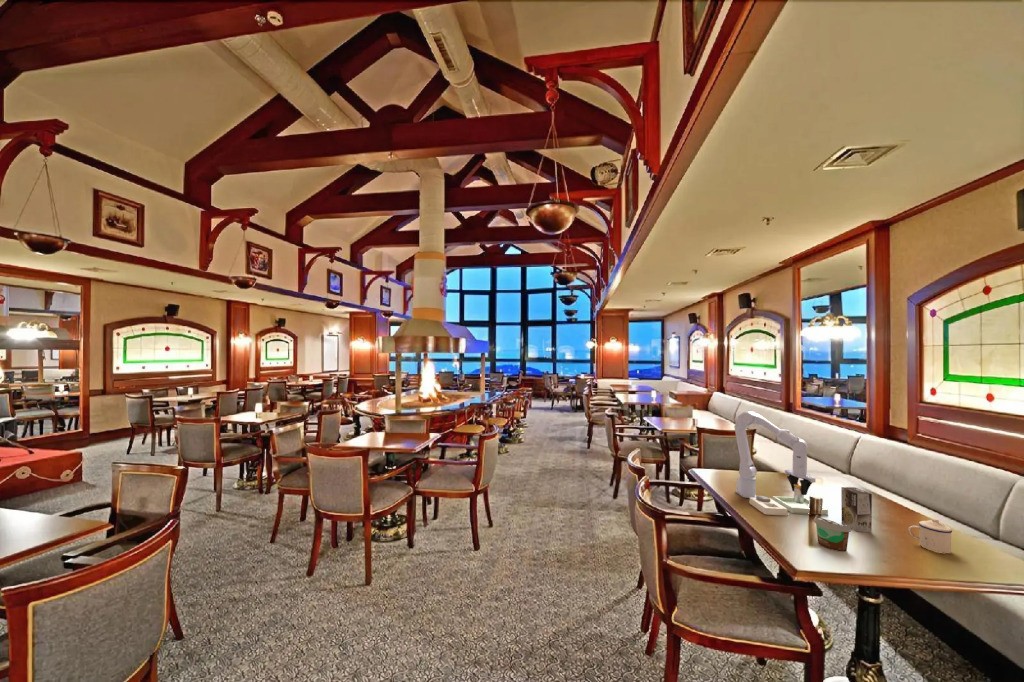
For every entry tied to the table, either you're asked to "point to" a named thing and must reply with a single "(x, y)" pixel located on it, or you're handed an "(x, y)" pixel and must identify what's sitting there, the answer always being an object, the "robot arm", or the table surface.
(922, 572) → the table surface
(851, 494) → the coffee box
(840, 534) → the food container
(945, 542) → the teacup with lid
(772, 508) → the plate
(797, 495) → the jar
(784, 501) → the tray
